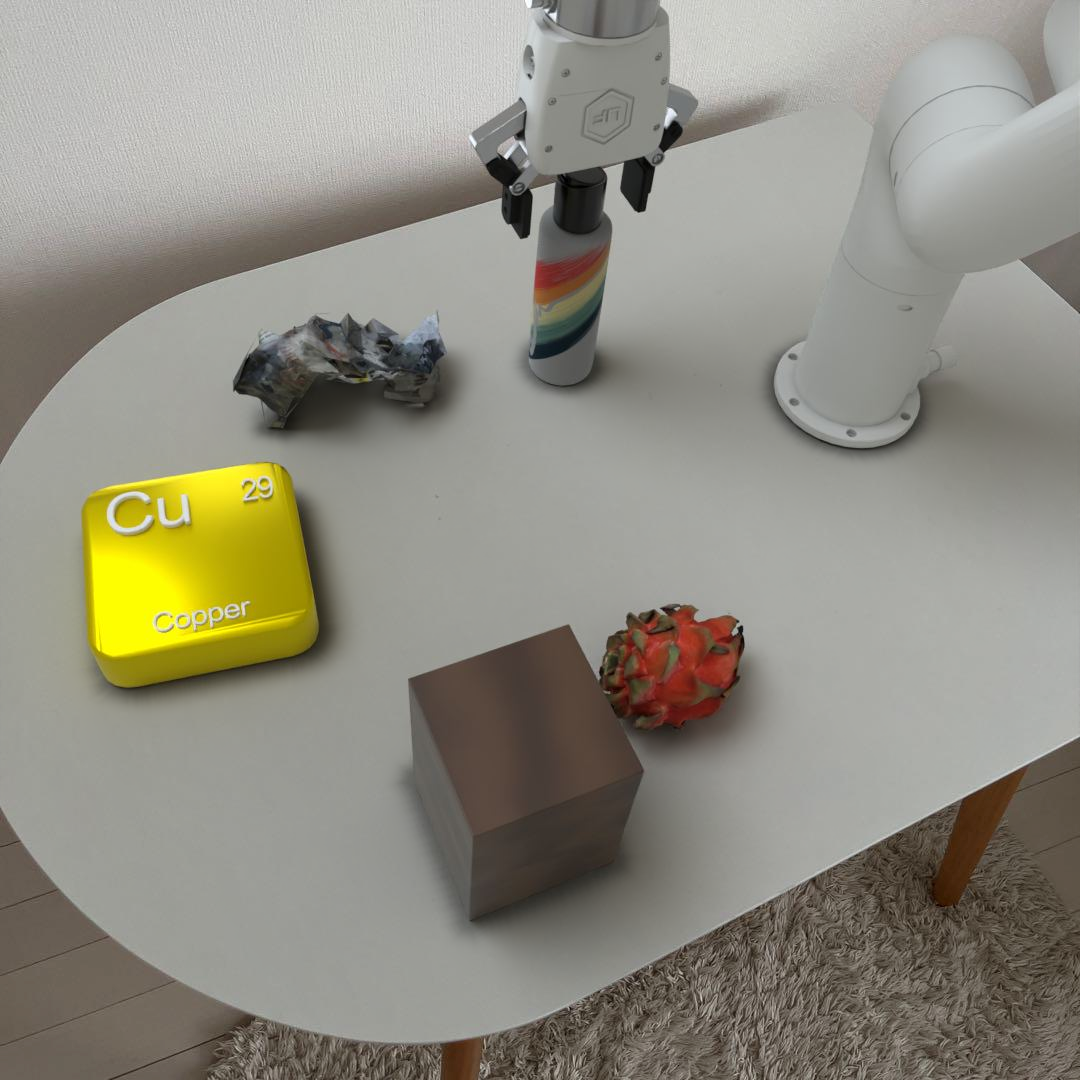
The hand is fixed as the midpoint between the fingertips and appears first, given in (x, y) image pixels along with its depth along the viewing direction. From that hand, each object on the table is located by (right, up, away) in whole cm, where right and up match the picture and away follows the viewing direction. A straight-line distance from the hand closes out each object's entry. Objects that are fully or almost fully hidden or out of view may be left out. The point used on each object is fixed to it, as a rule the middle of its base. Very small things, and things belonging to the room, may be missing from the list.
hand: (575, 214), depth 85 cm
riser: (-5, -43, -12) cm, 45 cm away
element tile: (-27, -28, -3) cm, 39 cm away
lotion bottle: (-1, -10, +13) cm, 16 cm away
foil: (-19, -12, +10) cm, 24 cm away
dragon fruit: (+6, -35, -5) cm, 36 cm away
